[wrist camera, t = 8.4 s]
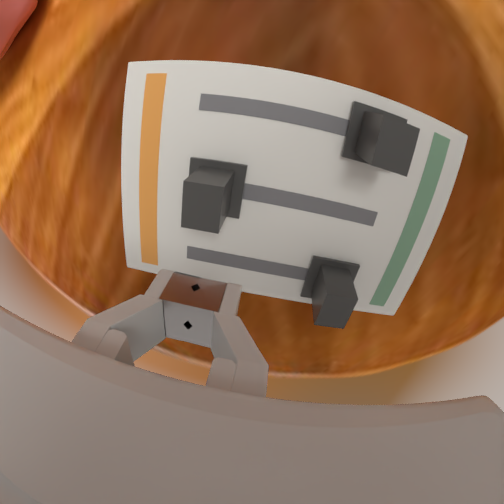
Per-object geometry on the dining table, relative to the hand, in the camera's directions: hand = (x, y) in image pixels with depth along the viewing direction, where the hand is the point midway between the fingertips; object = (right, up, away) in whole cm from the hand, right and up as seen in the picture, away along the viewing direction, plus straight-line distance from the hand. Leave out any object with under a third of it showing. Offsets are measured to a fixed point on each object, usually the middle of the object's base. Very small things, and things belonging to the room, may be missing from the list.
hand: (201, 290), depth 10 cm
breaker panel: (+5, +7, +12) cm, 15 cm away
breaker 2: (+10, +9, +6) cm, 15 cm away
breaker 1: (+8, -1, +12) cm, 15 cm away
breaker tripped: (-1, +6, +9) cm, 11 cm away
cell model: (-26, +30, +2) cm, 40 cm away
